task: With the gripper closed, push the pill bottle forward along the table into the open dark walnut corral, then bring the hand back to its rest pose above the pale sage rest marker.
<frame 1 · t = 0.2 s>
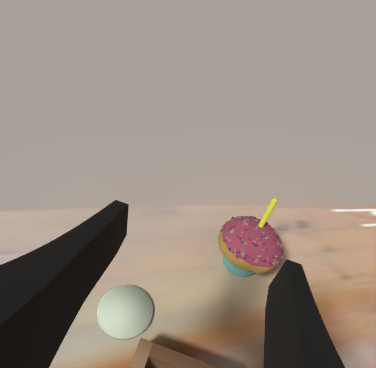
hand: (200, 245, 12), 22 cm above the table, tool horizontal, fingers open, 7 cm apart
rest marker: (125, 310, 31), on the table
cupcake: (239, 263, 40), on the table
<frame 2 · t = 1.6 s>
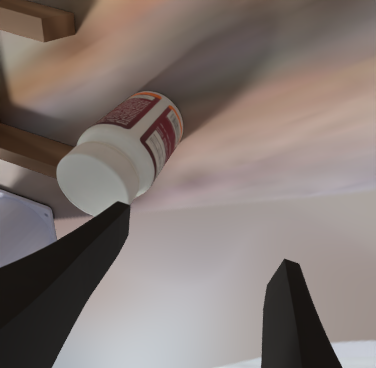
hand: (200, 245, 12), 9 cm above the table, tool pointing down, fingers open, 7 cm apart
pill bottle: (154, 121, 21), on the table
walnut corral: (32, 85, 22), on the table
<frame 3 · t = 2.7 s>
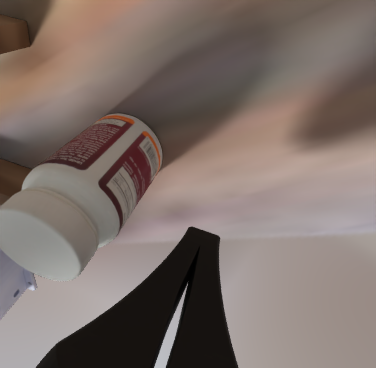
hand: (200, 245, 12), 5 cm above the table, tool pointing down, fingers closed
pill bottle: (129, 147, 18), on the table
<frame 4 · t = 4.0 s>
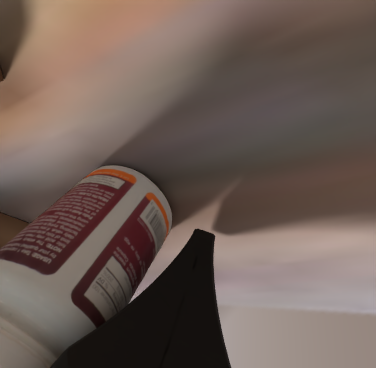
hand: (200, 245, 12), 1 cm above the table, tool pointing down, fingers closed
pill bottle: (132, 202, 14), on the table, touching gripper
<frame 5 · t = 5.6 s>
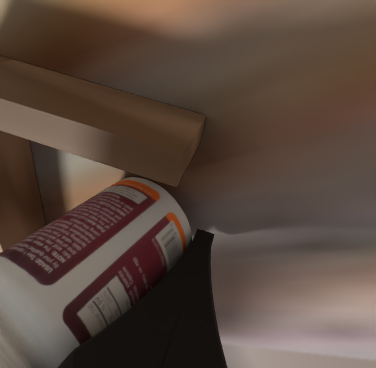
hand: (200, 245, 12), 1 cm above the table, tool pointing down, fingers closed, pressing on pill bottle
pill bottle: (154, 218, 13), on the table, touching gripper
walnut corral: (106, 197, 14), on the table
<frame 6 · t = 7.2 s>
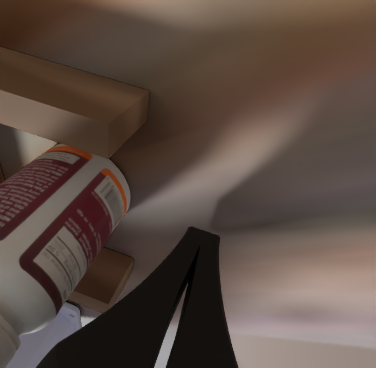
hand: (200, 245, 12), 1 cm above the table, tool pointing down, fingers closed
pill bottle: (91, 181, 14), on the table
walnut corral: (65, 178, 14), on the table
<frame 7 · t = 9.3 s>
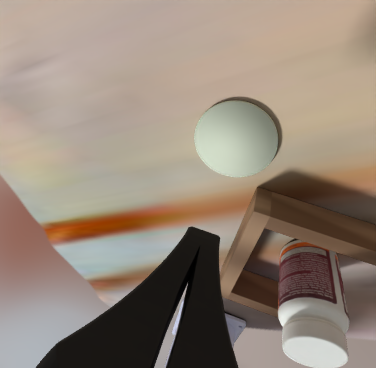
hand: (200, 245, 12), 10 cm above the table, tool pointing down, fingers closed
rest marker: (235, 140, 21), on the table
pill bottle: (307, 254, 25), on the table
walnut corral: (292, 252, 25), on the table
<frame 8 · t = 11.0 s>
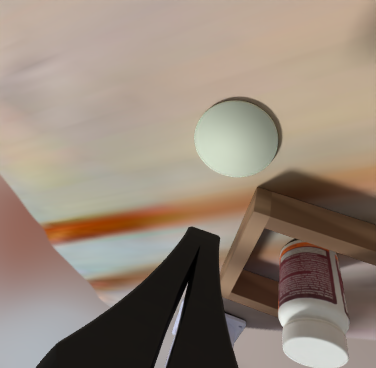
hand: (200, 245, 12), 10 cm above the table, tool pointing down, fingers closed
rest marker: (235, 140, 21), on the table
pill bottle: (307, 254, 25), on the table
walnut corral: (292, 252, 25), on the table
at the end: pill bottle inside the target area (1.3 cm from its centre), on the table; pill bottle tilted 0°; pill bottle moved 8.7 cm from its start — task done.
